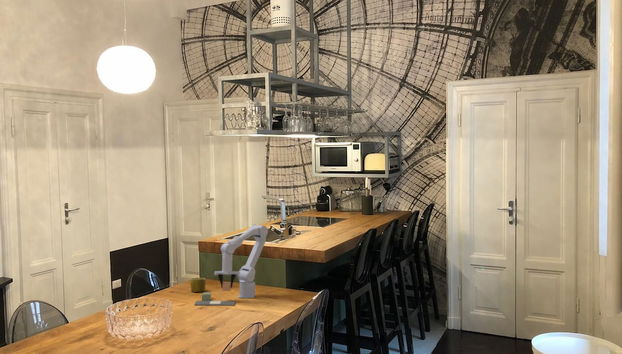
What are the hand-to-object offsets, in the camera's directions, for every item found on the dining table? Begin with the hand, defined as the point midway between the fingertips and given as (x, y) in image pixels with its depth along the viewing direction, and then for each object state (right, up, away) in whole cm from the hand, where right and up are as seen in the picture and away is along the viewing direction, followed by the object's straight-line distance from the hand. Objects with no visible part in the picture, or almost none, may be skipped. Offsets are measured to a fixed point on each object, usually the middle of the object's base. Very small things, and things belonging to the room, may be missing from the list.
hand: (226, 287), depth 296 cm
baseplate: (-5, -8, -8) cm, 12 cm away
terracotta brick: (0, -2, 0) cm, 2 cm away
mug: (-21, -7, +22) cm, 31 cm away
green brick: (-12, -7, 0) cm, 14 cm away
